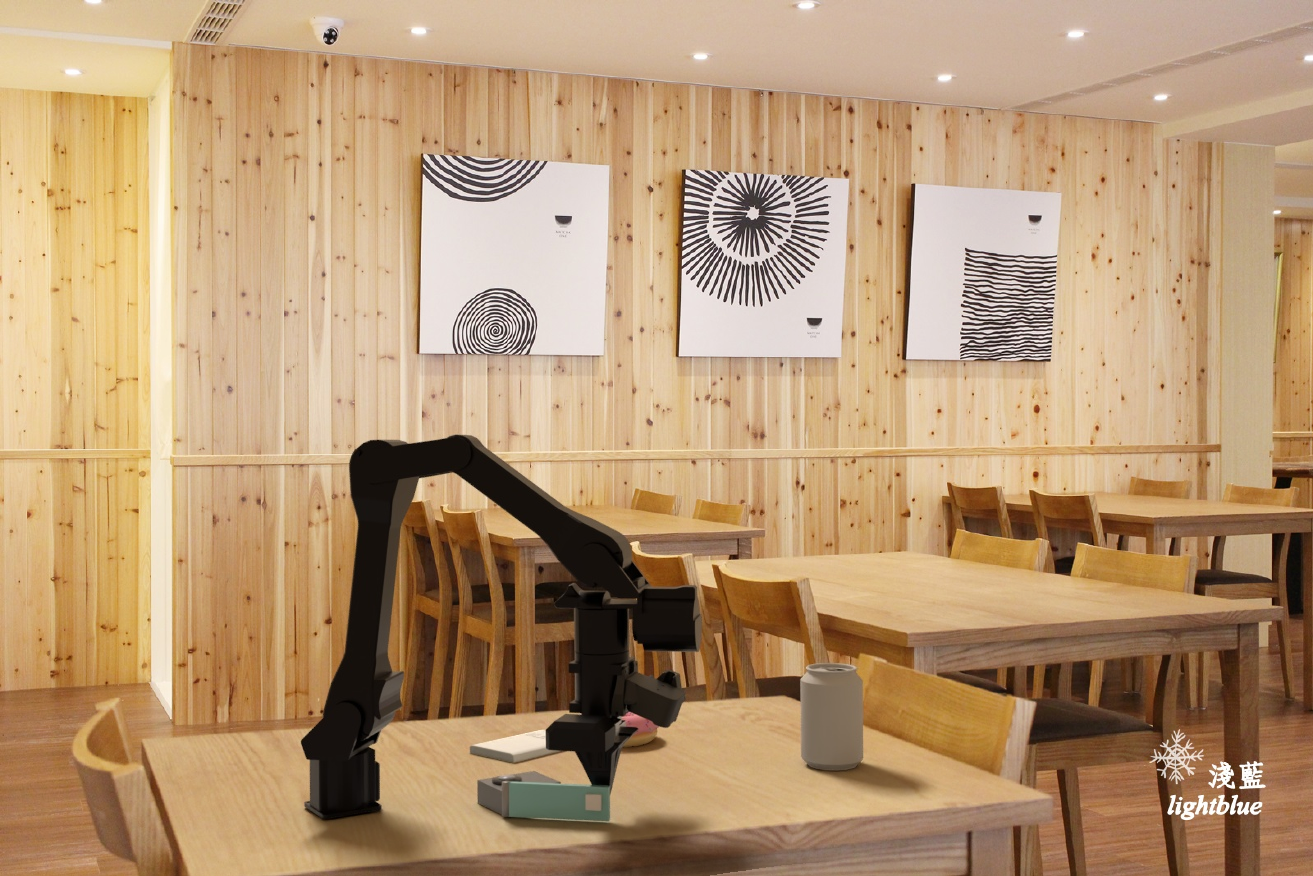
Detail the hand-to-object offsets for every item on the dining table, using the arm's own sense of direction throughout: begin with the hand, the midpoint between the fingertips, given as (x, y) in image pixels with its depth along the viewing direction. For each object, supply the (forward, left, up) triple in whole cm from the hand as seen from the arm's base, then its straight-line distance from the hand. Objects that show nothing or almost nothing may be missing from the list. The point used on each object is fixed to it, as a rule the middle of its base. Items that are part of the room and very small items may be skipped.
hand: (603, 800), depth 139 cm
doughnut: (+21, +30, -2) cm, 37 cm away
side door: (-5, +2, -2) cm, 5 cm away
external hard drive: (+9, +33, -3) cm, 34 cm away
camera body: (-5, +10, -2) cm, 11 cm away
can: (+35, +4, -2) cm, 35 cm away
